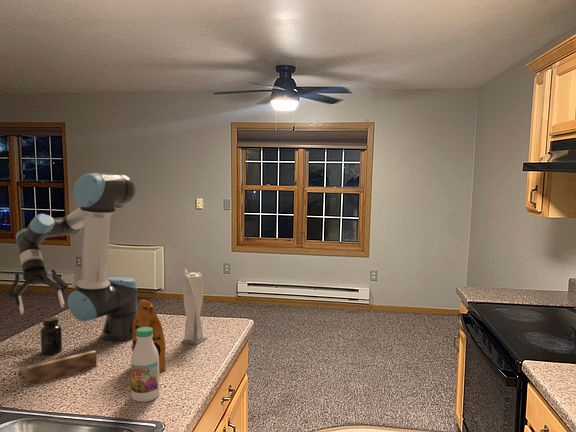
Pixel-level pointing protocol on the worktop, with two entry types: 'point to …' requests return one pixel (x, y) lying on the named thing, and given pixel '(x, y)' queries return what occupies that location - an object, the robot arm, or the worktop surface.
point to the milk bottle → (144, 367)
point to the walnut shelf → (59, 367)
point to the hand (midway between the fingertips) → (43, 309)
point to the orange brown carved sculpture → (150, 319)
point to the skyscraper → (193, 308)
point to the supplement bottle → (51, 336)
